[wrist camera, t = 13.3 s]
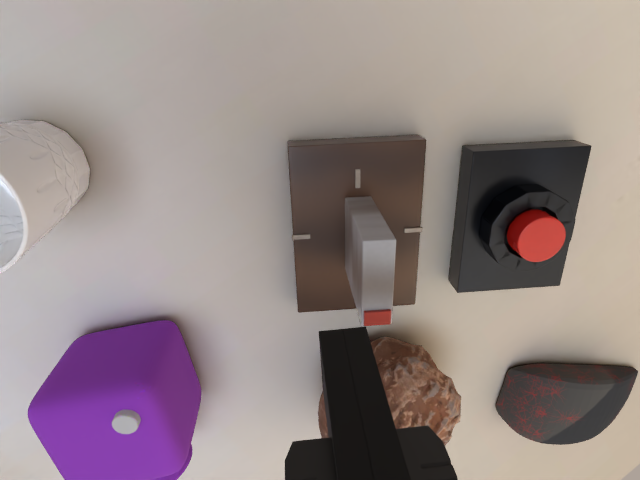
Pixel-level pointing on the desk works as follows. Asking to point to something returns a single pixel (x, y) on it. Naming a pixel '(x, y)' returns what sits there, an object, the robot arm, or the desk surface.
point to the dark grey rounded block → (563, 400)
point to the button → (536, 235)
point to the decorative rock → (412, 389)
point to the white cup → (36, 183)
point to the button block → (512, 210)
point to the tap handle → (369, 260)
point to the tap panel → (329, 211)
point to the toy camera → (120, 405)
